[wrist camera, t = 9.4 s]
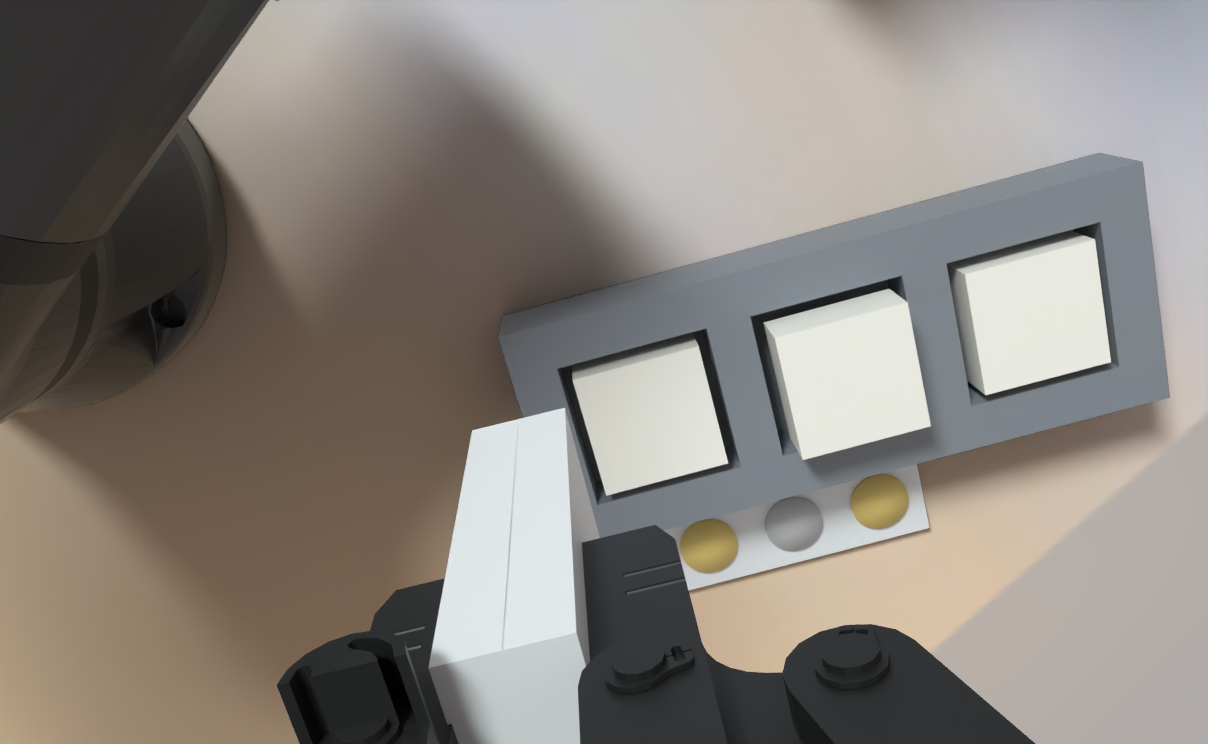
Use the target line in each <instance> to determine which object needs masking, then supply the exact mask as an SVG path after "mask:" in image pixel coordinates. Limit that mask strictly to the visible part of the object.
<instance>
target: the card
mask: <svg viewBox="0 0 1208 744" xmlns="http://www.w3.org/2000/svg"><path fill="white" fill-rule="evenodd" d="M927 528H929V523H928V518H927V513H926V508H925V503H924V497H923V492H922V487H921V482H920V477H919V472H918V467H917V464H915V465H911V466H907V467H903V468H899V469H896V470H892V471H888V472H884V473H880V474H877V475H873V476H869V477H865V478H861V479H858V480H854V481H850V482H846V483H842V484H839V485H835V486H831V487H827V488H823V489H820V490H816V491H812V492H808V493H804V494H801V495H797V496H793V497H789V498H785V499H782V500H778V501H774V502H770V503H766V504H763V505H759V506H755V507H751V508H747V509H744V510H740V511H736V512H732V513H728V514H724V515H721V516H717V517H713V518H709V519H705V520H702V521H698V522H694V523H690V524H686V525H683V526H679V527H675V528H671V529H667V530H664V531H665V532H666V533H668V534H669V535H670V536H672V537H673V538H675V540H676V544H677V548H678V552H679V555H680V559H681V563H682V567H683V571H684V575H685V579H686V583H687V587H688V591H689V590H693V589H697V588H700V587H704V586H708V585H712V584H716V583H720V582H723V581H727V580H731V579H735V578H739V577H743V576H747V575H750V574H754V573H758V572H762V571H766V570H770V569H773V568H777V567H781V566H785V565H789V564H793V563H797V562H800V561H804V560H808V559H812V558H816V557H820V556H823V555H827V554H831V553H835V552H839V551H843V550H846V549H850V548H854V547H858V546H862V545H866V544H870V543H873V542H877V541H881V540H885V539H889V538H893V537H896V536H900V535H904V534H908V533H912V532H916V531H919V530H923V529H927Z"/></svg>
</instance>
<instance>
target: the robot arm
mask: <svg viewBox="0 0 1208 744" xmlns="http://www.w3.org/2000/svg"><path fill="white" fill-rule="evenodd" d="M268 1H269V0H0V424H1V423H3V422H4V421H6V420H7V419H8V418H10V417H11V416H13V415H14V414H16V413H17V412H33V411H51V410H63V409H69V408H76V407H80V406H84V405H89V404H92V403H95V402H98V401H102V400H104V399H107V398H110V397H112V396H114V395H117V394H119V393H121V392H123V391H125V390H127V389H130V388H131V387H133V386H135V385H136V384H138V383H140V382H141V381H143V380H144V379H146V378H147V377H149V376H150V375H151V374H153V373H154V372H155V371H157V370H158V369H159V368H160V367H162V366H163V365H164V364H165V363H167V362H168V361H169V360H170V359H171V358H172V357H174V356H175V355H176V354H177V353H178V352H179V351H180V350H181V349H182V348H183V347H184V346H185V345H186V344H187V343H188V342H189V341H190V340H191V338H192V337H193V336H194V335H195V333H196V332H197V331H198V329H199V328H200V326H201V325H202V323H203V322H204V320H205V318H206V317H207V315H208V313H209V311H210V309H211V307H212V305H213V303H214V300H215V298H216V295H217V292H218V290H219V286H220V283H221V279H222V275H223V270H224V265H225V258H226V245H227V229H226V217H225V209H224V204H223V198H222V194H221V190H220V187H219V183H218V180H217V177H216V174H215V171H214V169H213V166H212V164H211V161H210V159H209V157H208V155H207V153H206V151H205V149H204V147H203V145H202V143H201V141H200V140H199V138H198V136H197V134H196V133H195V131H194V130H193V128H192V127H191V125H190V124H189V122H188V121H187V117H188V116H189V115H190V113H191V112H192V110H193V109H194V107H195V106H196V104H197V103H198V102H199V100H200V99H201V97H202V96H203V94H204V93H205V92H206V90H207V89H208V87H209V86H210V84H211V83H212V82H213V80H214V79H215V77H216V76H217V74H218V73H219V71H220V70H221V69H222V67H223V66H224V64H225V63H226V61H227V60H228V59H229V57H230V56H231V54H232V53H233V51H234V50H235V48H236V47H237V46H238V44H239V43H240V41H241V40H242V38H243V37H244V36H245V34H246V33H247V31H248V30H249V28H250V27H251V25H252V24H253V23H254V21H255V20H256V18H257V17H258V15H259V14H260V13H261V11H262V10H263V8H264V7H265V5H266V4H267V3H268ZM275 1H279V0H275ZM277 687H278V690H279V692H280V695H281V697H282V700H283V702H284V705H285V707H286V710H287V712H288V715H289V717H290V720H291V723H292V725H293V728H294V730H295V733H296V735H297V738H298V740H299V743H300V744H1035V743H1034V742H1033V741H1031V740H1030V739H1029V738H1028V737H1027V736H1026V735H1024V734H1023V733H1022V732H1021V731H1020V730H1019V729H1018V728H1016V727H1015V726H1014V725H1013V724H1012V723H1010V722H1009V721H1008V720H1007V719H1006V718H1005V717H1004V716H1002V715H1001V714H1000V713H999V712H998V711H997V710H995V709H994V708H993V707H992V706H991V705H990V704H989V703H987V702H986V701H985V700H983V698H982V697H980V696H979V695H978V694H977V693H976V692H975V691H973V690H972V689H971V688H970V687H969V686H967V685H966V684H965V683H964V682H963V681H962V680H961V679H959V678H958V677H957V676H956V675H955V674H954V673H952V672H951V671H950V670H949V669H948V668H947V667H945V666H944V665H943V664H942V663H941V662H940V661H938V660H937V659H936V658H935V657H934V656H933V655H932V654H930V653H929V652H928V651H927V650H926V649H925V648H923V647H922V646H921V645H920V644H919V643H918V642H916V641H915V640H914V639H912V638H910V637H908V636H907V635H905V634H903V633H901V632H899V631H898V630H896V629H891V628H887V627H882V626H877V625H872V624H868V625H844V626H840V627H837V628H833V629H829V630H825V631H821V632H819V633H817V634H815V635H813V636H812V637H810V638H808V639H806V640H804V641H803V642H801V643H799V644H798V645H797V646H796V648H795V649H794V650H793V651H792V652H791V653H790V654H789V655H788V657H787V658H786V661H785V665H784V670H783V673H758V672H746V671H741V670H737V669H733V668H729V667H727V666H725V665H723V664H721V663H719V662H717V661H716V660H714V659H713V658H712V657H711V656H710V655H709V654H708V653H707V652H706V650H705V648H704V646H703V644H702V642H701V638H700V634H699V630H698V626H697V622H696V618H695V614H694V610H693V606H692V603H691V599H690V595H689V591H688V587H687V583H686V579H685V575H684V571H683V567H682V563H681V559H680V555H679V552H678V548H677V544H676V540H675V538H673V537H672V536H670V535H669V534H668V533H666V532H665V531H663V530H662V529H661V528H659V527H658V526H656V525H652V526H648V527H644V528H640V529H636V530H631V531H627V532H623V533H619V534H615V535H611V536H607V537H603V538H600V536H599V533H598V529H597V525H596V521H595V518H594V514H593V510H592V507H591V503H590V499H589V495H588V492H587V488H586V484H585V480H584V477H583V473H582V469H581V466H580V462H579V458H578V454H577V451H576V447H575V443H574V440H573V436H572V432H571V428H570V425H569V421H568V417H567V413H566V410H565V408H562V409H557V410H553V411H549V412H545V413H541V414H537V415H533V416H529V417H525V418H521V419H517V420H513V421H509V422H504V423H500V424H496V425H492V426H488V427H484V428H480V429H476V430H472V434H471V439H470V445H469V450H468V456H467V461H466V467H465V472H464V477H463V483H462V488H461V494H460V499H459V505H458V510H457V515H456V521H455V526H454V532H453V537H452V542H451V548H450V553H449V559H448V564H447V570H446V575H445V579H441V580H437V581H433V582H429V583H424V584H420V585H416V586H412V587H408V588H404V589H400V590H396V591H395V592H394V593H393V595H392V596H391V597H390V598H389V599H388V600H387V601H386V603H385V604H384V605H383V606H382V607H381V608H380V609H379V610H378V612H377V613H376V614H375V616H374V620H373V623H372V626H371V630H370V631H369V632H361V633H354V634H350V635H347V636H345V637H342V638H339V639H336V640H333V641H330V642H327V643H326V644H324V645H322V646H320V647H318V648H317V649H315V650H313V651H311V652H309V653H307V654H306V655H304V656H303V657H302V658H301V659H300V660H298V661H297V662H296V663H295V664H294V665H292V666H291V667H290V668H289V669H288V670H287V671H286V672H285V674H284V675H283V677H282V678H281V680H280V681H279V683H278V684H277Z"/></svg>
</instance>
